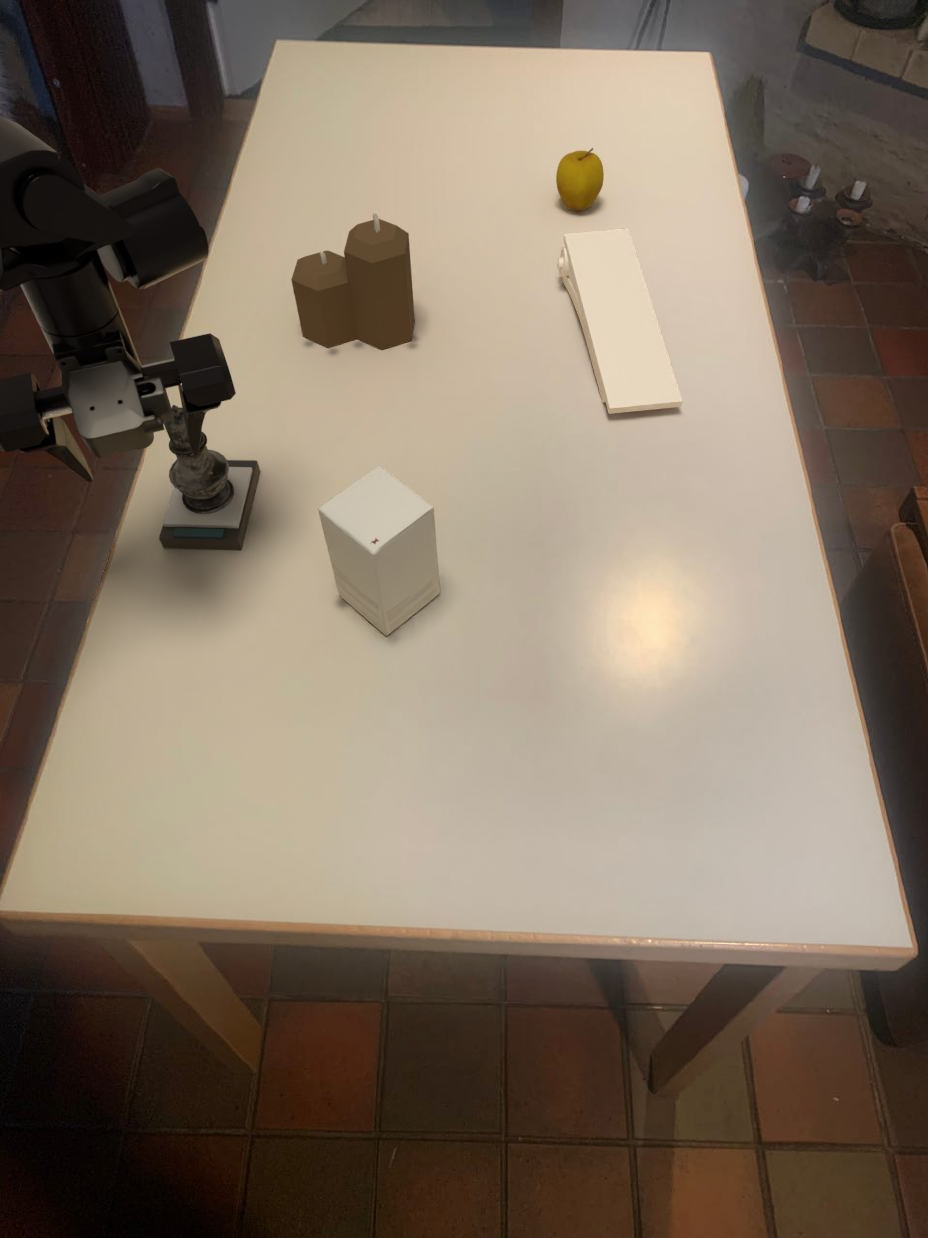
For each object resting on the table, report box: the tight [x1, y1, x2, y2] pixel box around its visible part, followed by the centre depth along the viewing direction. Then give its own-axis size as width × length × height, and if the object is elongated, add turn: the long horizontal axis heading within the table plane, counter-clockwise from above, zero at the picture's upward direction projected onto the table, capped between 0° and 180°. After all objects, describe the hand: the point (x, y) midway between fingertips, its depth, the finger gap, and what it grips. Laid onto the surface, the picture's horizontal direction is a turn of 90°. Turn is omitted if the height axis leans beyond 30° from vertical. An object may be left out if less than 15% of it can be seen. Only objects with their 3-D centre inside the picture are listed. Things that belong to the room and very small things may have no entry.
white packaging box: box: [317, 465, 441, 637], centre depth 76 cm, size 7×7×13 cm
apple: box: [555, 147, 604, 211], centre depth 115 cm, size 6×6×8 cm
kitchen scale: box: [158, 459, 261, 551], centre depth 87 cm, size 11×8×2 cm
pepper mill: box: [163, 404, 234, 514], centre depth 81 cm, size 6×6×12 cm
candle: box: [290, 212, 416, 351], centre depth 99 cm, size 14×14×15 cm
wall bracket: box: [556, 227, 683, 415], centre depth 102 cm, size 10×7×28 cm
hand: (143, 465), depth 75 cm, fingers open, 9 cm apart
